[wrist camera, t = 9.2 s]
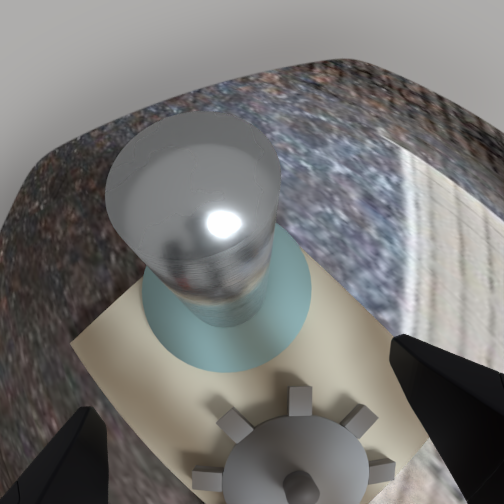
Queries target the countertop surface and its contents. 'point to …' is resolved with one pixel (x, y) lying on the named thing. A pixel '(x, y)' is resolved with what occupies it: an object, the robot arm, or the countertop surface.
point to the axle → (200, 210)
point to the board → (259, 389)
